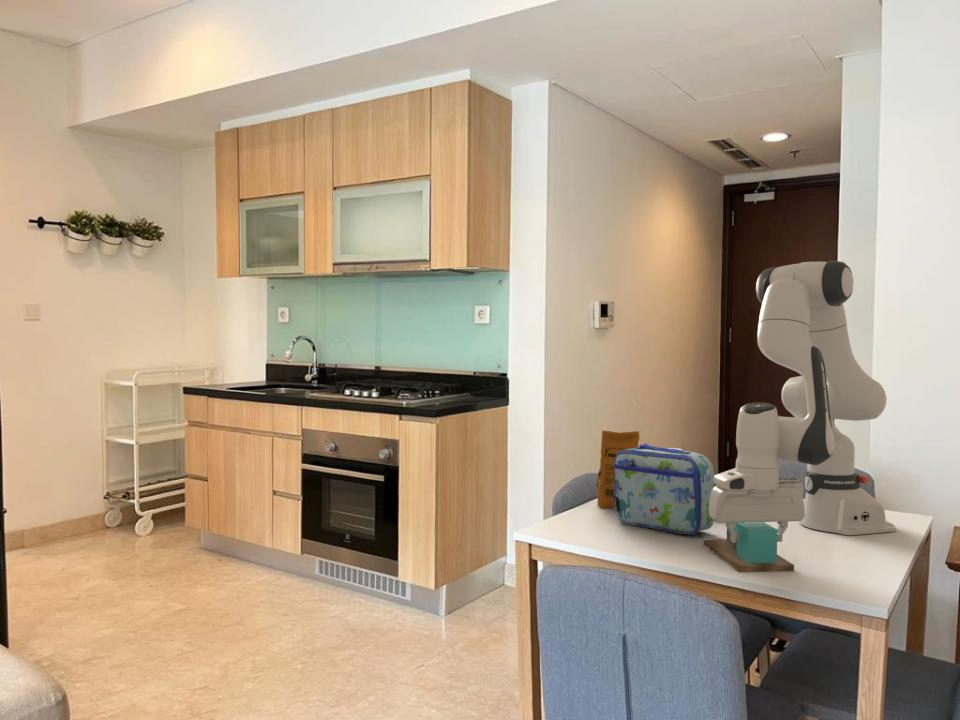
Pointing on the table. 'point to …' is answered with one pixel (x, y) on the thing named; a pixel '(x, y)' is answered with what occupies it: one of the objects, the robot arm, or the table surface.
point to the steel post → (733, 545)
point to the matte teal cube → (757, 542)
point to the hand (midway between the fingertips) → (756, 541)
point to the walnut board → (741, 565)
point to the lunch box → (663, 489)
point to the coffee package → (612, 463)
